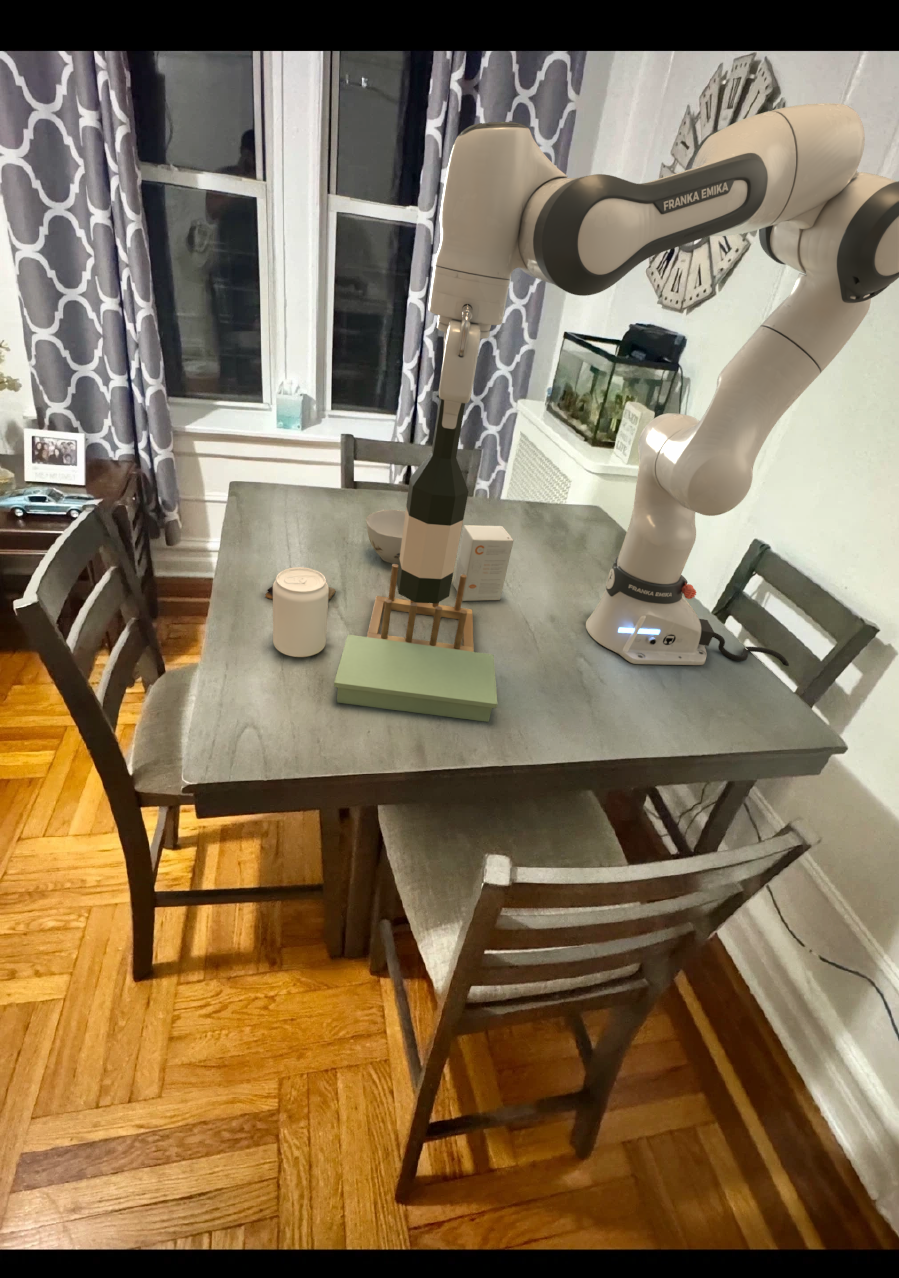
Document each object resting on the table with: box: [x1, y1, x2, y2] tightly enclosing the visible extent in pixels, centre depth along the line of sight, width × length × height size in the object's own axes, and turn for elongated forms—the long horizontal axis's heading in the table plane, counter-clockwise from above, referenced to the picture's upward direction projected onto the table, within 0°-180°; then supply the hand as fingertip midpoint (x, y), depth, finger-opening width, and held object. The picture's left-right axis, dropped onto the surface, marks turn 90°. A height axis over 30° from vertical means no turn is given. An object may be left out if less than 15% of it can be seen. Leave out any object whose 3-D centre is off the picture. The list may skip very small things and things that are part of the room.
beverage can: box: [272, 566, 330, 658], centre depth 92 cm, size 8×8×12 cm
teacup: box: [365, 509, 406, 565], centre depth 123 cm, size 15×12×8 cm
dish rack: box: [366, 563, 475, 652], centre depth 102 cm, size 18×14×9 cm
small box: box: [452, 524, 515, 602], centre depth 115 cm, size 8×6×13 cm
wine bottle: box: [396, 396, 469, 604], centre depth 83 cm, size 8×8×30 cm
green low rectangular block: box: [333, 634, 498, 723], centre depth 90 cm, size 23×12×4 cm, turn 89°
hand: (448, 422), depth 77 cm, fingers closed on wine bottle, 3 cm apart
